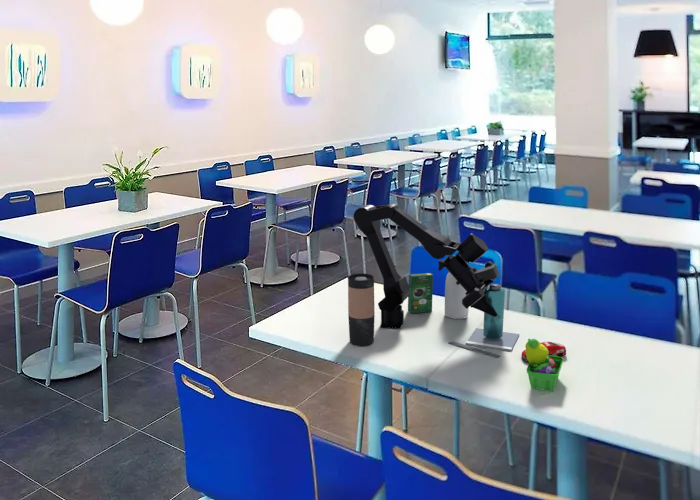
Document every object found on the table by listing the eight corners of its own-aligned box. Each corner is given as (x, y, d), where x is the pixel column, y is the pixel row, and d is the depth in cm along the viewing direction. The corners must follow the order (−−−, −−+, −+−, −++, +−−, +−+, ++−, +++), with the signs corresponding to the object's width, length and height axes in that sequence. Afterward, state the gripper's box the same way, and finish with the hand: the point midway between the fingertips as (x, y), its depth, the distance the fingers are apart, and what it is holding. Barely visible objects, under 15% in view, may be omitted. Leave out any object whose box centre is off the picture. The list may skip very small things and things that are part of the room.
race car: (529, 366, 164) (529, 352, 163) (516, 358, 169) (517, 344, 168) (569, 358, 168) (570, 344, 167) (556, 350, 173) (557, 337, 172)
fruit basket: (557, 395, 147) (560, 351, 144) (519, 388, 151) (522, 345, 148) (562, 375, 157) (565, 334, 154) (527, 370, 161) (529, 329, 158)
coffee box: (429, 308, 209) (430, 271, 205) (433, 311, 206) (433, 274, 203) (407, 311, 206) (407, 274, 203) (410, 314, 204) (411, 276, 200)
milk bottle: (468, 320, 197) (470, 260, 193) (443, 318, 199) (445, 259, 194) (468, 312, 205) (470, 254, 200) (445, 310, 206) (446, 253, 202)
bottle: (490, 339, 177) (493, 289, 173) (479, 333, 182) (481, 284, 178) (506, 336, 179) (509, 286, 176) (494, 330, 184) (497, 281, 181)
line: (448, 343, 179) (448, 342, 179) (451, 341, 180) (451, 340, 180) (497, 357, 168) (497, 356, 168) (500, 356, 170) (500, 355, 169)
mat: (465, 344, 178) (465, 342, 178) (476, 329, 189) (476, 327, 189) (511, 351, 173) (511, 349, 173) (519, 335, 184) (519, 333, 184)
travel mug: (378, 339, 183) (378, 274, 178) (368, 348, 176) (367, 281, 171) (355, 335, 186) (354, 272, 181) (344, 344, 179) (343, 279, 174)
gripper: (474, 263, 168) (513, 306, 167) (489, 248, 185) (525, 287, 183) (446, 287, 173) (483, 329, 172) (463, 270, 190) (497, 308, 188)
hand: (498, 312), depth 178 cm, fingers closed on bottle, 5 cm apart
